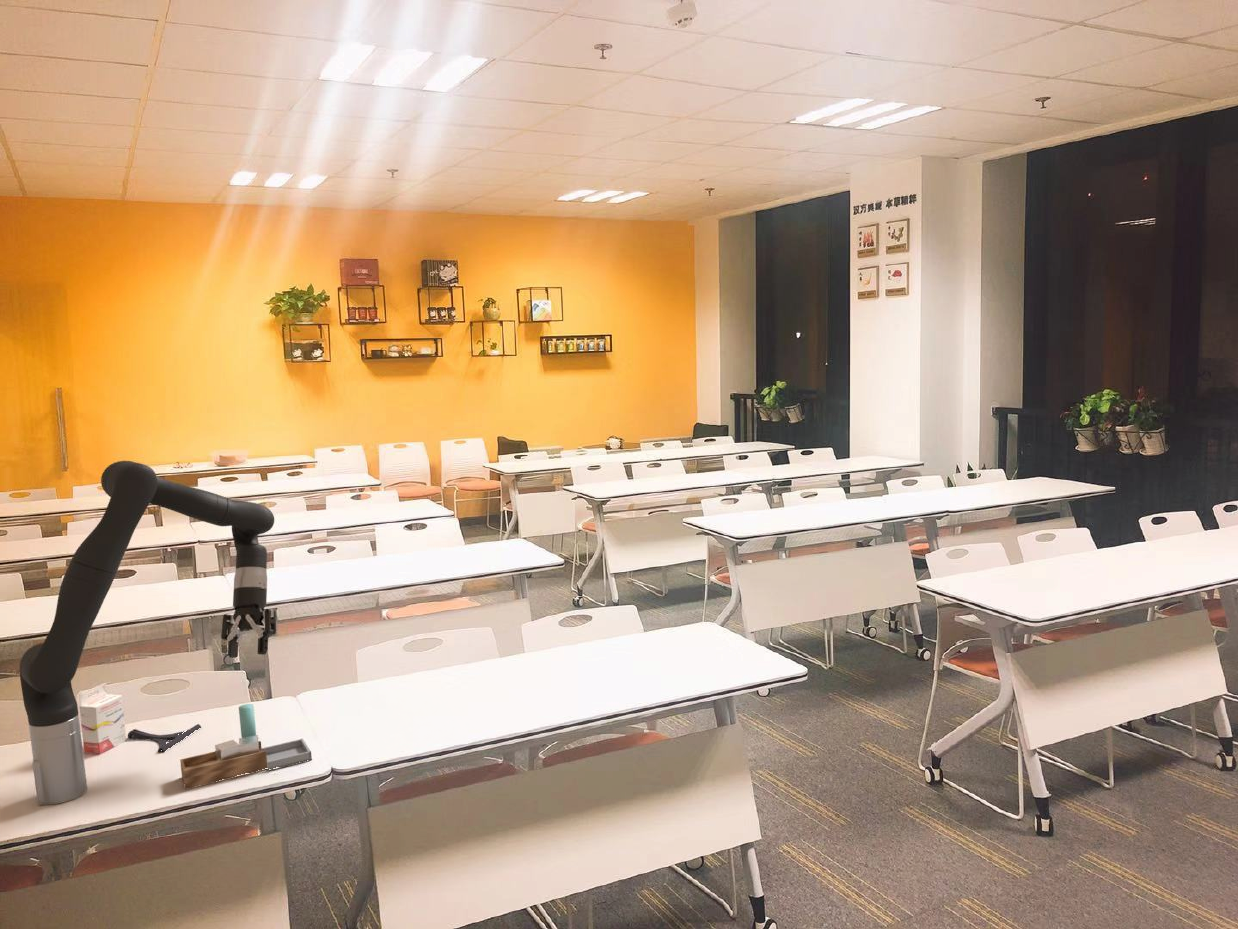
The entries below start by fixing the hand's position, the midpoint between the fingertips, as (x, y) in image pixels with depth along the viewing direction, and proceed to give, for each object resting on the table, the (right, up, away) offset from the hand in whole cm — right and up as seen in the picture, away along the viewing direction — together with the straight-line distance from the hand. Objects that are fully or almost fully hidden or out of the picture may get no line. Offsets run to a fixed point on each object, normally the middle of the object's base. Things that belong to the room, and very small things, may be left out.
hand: (247, 656), depth 225 cm
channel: (0, -24, -12) cm, 27 cm away
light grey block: (0, -21, -12) cm, 24 cm away
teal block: (+2, -23, -3) cm, 23 cm away
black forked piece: (-26, -23, +9) cm, 36 cm away
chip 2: (+4, -21, -10) cm, 23 cm away
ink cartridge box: (-37, -23, +6) cm, 44 cm away
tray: (+11, -22, -6) cm, 26 cm away
